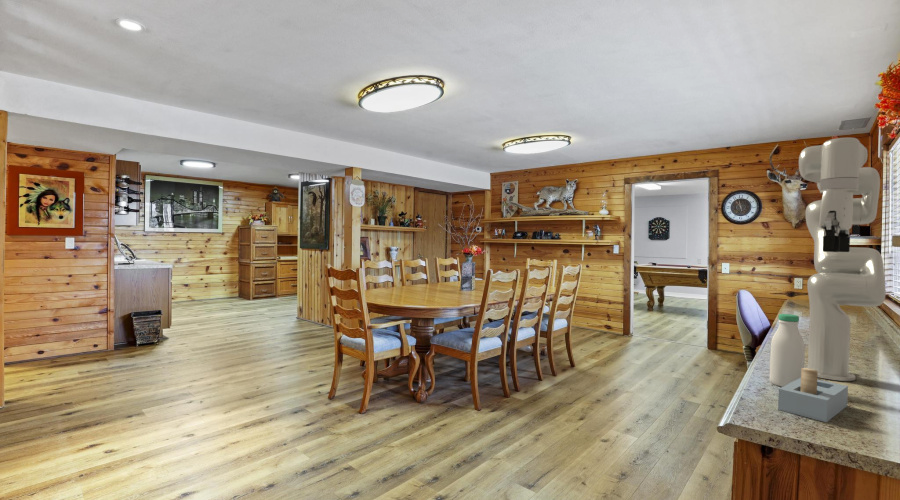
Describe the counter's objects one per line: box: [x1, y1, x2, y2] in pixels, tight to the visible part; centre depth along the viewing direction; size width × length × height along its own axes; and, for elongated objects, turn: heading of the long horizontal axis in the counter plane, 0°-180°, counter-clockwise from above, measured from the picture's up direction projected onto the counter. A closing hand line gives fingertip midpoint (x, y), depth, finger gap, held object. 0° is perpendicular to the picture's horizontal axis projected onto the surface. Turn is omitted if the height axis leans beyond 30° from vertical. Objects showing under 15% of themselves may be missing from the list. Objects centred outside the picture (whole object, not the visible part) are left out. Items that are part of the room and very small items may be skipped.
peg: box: [800, 368, 819, 395], centre depth 104 cm, size 3×3×10 cm
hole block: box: [777, 378, 849, 423], centre depth 107 cm, size 18×9×5 cm, turn 127°
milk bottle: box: [769, 313, 806, 388], centre depth 124 cm, size 8×8×20 cm
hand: (836, 251), depth 115 cm, fingers open, 9 cm apart
